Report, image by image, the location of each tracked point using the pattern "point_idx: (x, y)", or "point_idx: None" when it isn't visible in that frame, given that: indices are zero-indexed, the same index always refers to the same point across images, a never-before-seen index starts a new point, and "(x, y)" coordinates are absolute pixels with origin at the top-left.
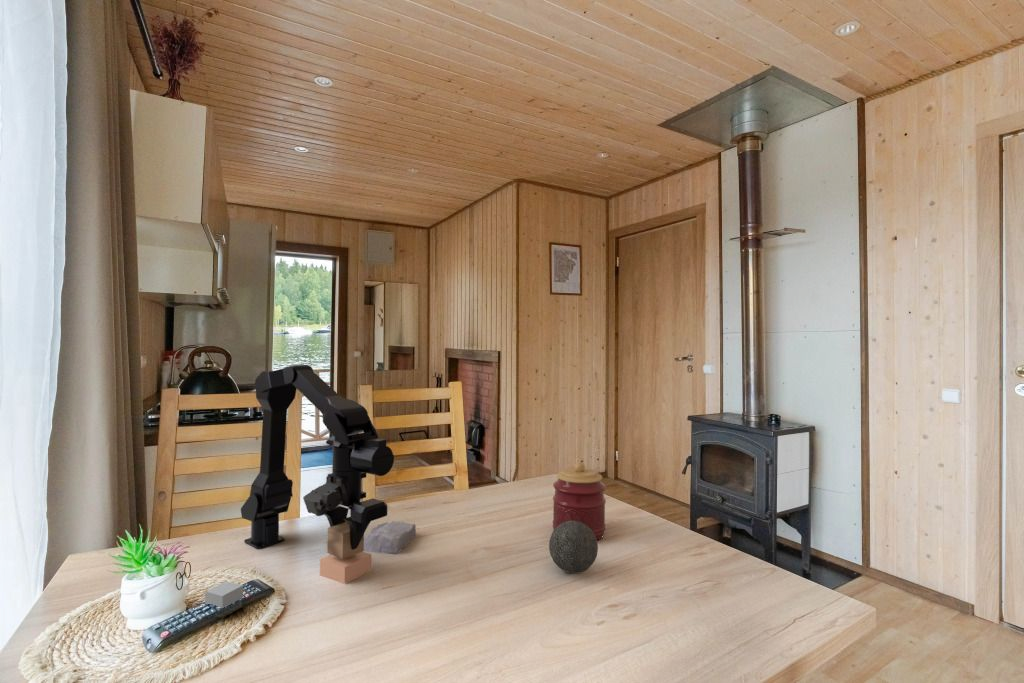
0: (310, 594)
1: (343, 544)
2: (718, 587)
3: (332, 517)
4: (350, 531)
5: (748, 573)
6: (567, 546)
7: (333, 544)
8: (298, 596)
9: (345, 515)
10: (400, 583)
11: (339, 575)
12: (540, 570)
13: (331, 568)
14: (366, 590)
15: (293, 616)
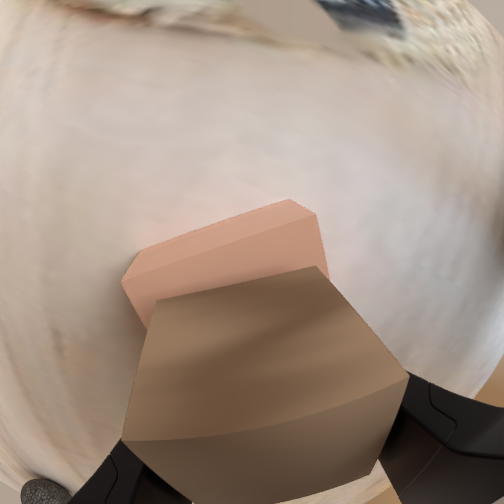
0: (140, 104)
1: (142, 367)
2: (12, 480)
3: (449, 459)
4: (129, 476)
5: None
6: (23, 500)
7: (265, 320)
8: (159, 63)
9: (400, 491)
10: (67, 372)
11: (164, 250)
12: (62, 478)
13: (218, 237)
14: (58, 289)
15: (49, 37)
